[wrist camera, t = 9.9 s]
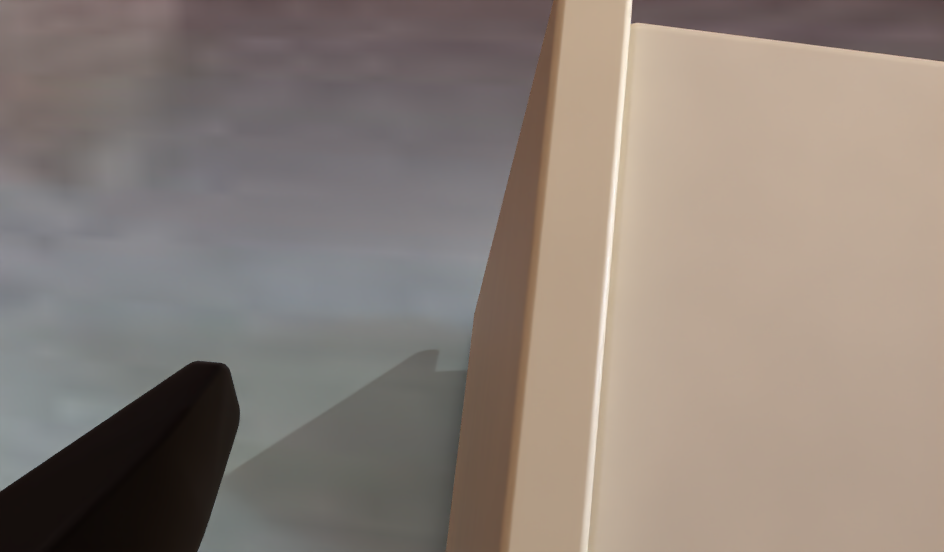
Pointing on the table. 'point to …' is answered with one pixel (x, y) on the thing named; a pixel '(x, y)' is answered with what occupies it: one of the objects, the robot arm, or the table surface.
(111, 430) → the robot arm
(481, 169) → the table surface
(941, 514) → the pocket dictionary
